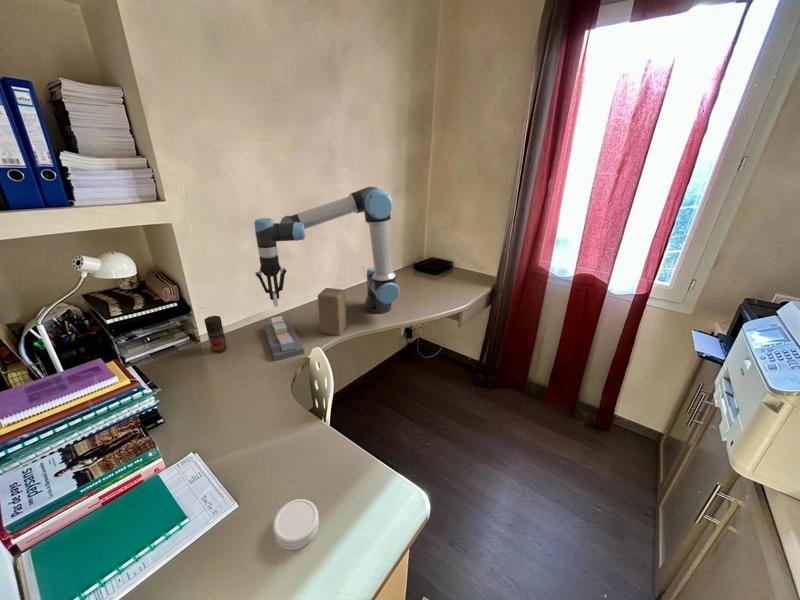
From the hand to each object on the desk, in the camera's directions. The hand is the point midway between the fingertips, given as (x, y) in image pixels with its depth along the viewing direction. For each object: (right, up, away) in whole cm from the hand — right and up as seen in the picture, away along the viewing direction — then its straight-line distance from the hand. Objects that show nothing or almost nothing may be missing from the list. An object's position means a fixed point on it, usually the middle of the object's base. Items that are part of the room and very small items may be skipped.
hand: (275, 305), depth 153 cm
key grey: (-1, -10, +7) cm, 12 cm away
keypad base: (+4, -16, -1) cm, 16 cm away
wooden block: (+25, -12, +10) cm, 29 cm away
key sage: (+2, -12, +1) cm, 13 cm away
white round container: (+33, -51, -75) cm, 96 cm away
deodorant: (-21, -19, -9) cm, 30 cm away
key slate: (+9, -18, -10) cm, 22 cm away
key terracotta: (+5, -17, -4) cm, 18 cm away
